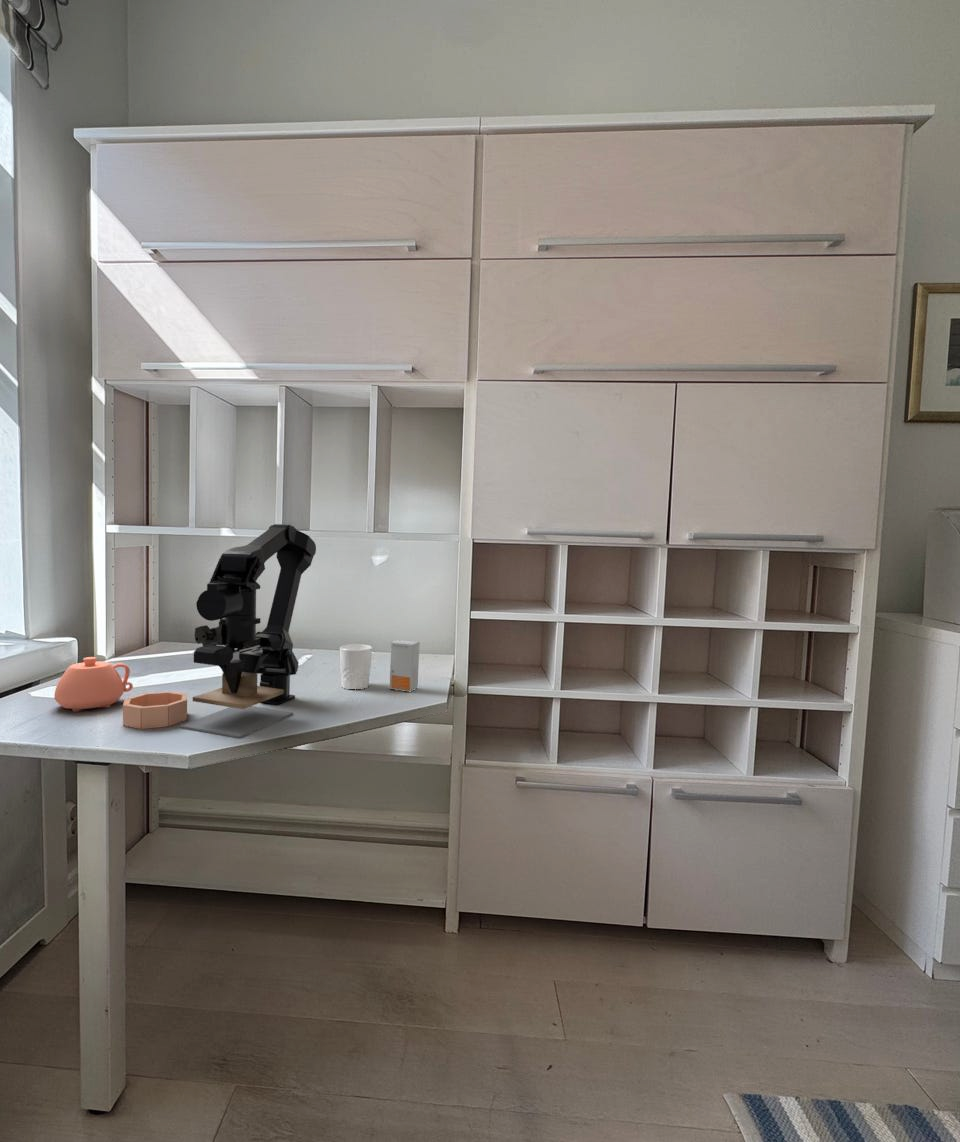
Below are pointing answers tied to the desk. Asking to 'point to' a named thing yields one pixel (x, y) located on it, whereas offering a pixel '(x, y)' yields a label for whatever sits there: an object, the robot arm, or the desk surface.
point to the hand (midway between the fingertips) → (239, 690)
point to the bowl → (155, 709)
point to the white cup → (355, 666)
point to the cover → (239, 693)
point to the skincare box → (404, 665)
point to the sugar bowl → (91, 685)
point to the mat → (236, 721)
